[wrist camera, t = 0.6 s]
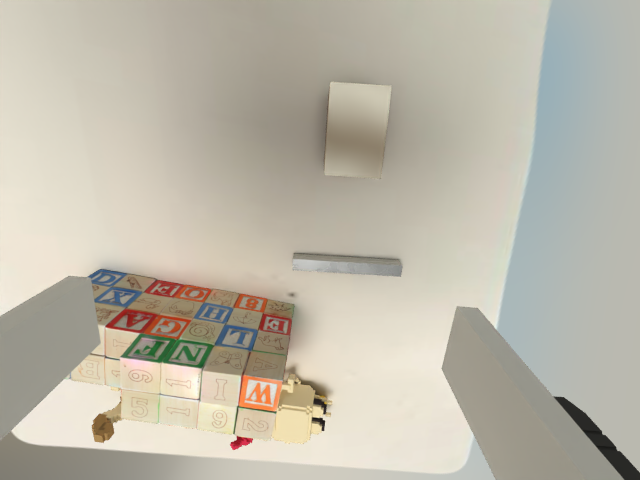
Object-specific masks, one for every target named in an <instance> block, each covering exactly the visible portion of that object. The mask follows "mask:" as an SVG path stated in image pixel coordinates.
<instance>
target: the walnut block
mask: <svg viewBox="0 0 640 480" xmlns="http://www.w3.org/2000/svg"><path fill="white" fill-rule="evenodd" d="M391 89H392V86H389V85H373V84H358V83H343V82H330V87H329V94H328V109H327V125H326V140H325V156H324V175H327V176H343V177H359V178H374V179H381V174H382V165H383V157H384V149H385V140H386V132H387V123H388V115H389V106H390V98H391Z"/></svg>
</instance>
